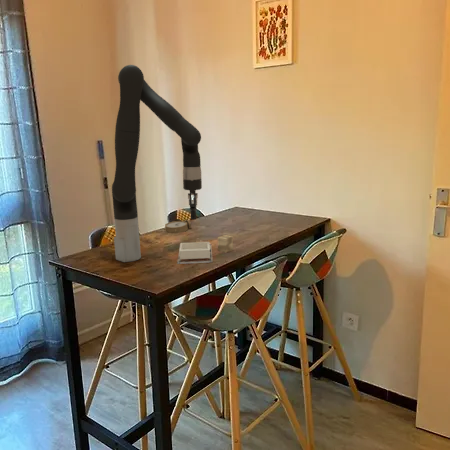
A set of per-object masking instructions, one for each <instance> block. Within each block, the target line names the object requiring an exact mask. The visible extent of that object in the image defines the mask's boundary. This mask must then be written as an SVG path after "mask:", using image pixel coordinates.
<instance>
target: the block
mask: <svg viewBox="0 0 450 450" xmlns="http://www.w3.org/2000/svg"><path fill="white" fill-rule="evenodd" d="M233 238H234V237H233V235H231V236H230V235H226V234H224V235H221V236H217V252H221V253H225V254H226V253H230V252H232V251H234V241H233V240H234V239H233Z"/></svg>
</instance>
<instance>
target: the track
mask: <svg viewBox="0 0 450 450" xmlns="http://www.w3.org/2000/svg"><path fill="white" fill-rule="evenodd" d="M209 245H210V249H211V252H210V255H211V256H212V258H197V259H178V258H177V261H176V264H177V265H181V264H184V265H185V264H186V265H187V264H202V263H203V264H205V263H213V261H214V260H213V249H212V243H209ZM178 250H180V248H179V249H178ZM178 256H179V254H178ZM178 256H177V257H178Z"/></svg>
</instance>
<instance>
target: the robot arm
mask: <svg viewBox="0 0 450 450" xmlns="http://www.w3.org/2000/svg"><path fill="white" fill-rule="evenodd" d="M117 79H118V80H117V81H118V83H119V108H118V110H117V115H116V121H115V122H116V123H115V131H114V132H115V134H114V155H115V171H114V177H113V178H114V180H113V183H112V184H111V197H112V204H113V206H112V207H113V209H112V210H113V218H114V228H115V229H114V230H115V231H114V232H115V236H114V237H113V242H114V244H113V245H114V253H115V260H116V261H119V262H122V263H128V262H135V261H138V260H140V259H141V258H142V255H141V253H142V252H141V241H140V230H139V216H138V203H137V194H136V193H137V187H136V165H137V160H138V155H139V154H138V153H139V148H140V147H139V146H140V145H139V144H140V138H141V137H140V134H141V111H140V109H141V108H140V105H141V103H143V104H144V105H145V106H146V107H148V109H149V110H150V111H151V112H152V113H153V114H154V115H156V117H157V118H158V119H159V120H160V121H161V122H162V123H164V125H165V126H166V127H168V128H169V130H171V131H173V132H175V133H176V134H177V136H179V137H180V143H181V148H182V163H183V164H182V183H183V184H182V187H183V188H182V189H183V190H184V191H189V193H187V199H188V206H189V211H190V219H191V221H192V220H197V206H198V196H199V195H198V193H197V192H196V191H199V190H201V189H202V187H203V185H202V181H203V180H202V179H203V178H202V168H201V167H202V166H201V154H200V152H199V144H200V143H201V141H202V133H201V132H200V131H199V129H197V128H196V126H194V124H192V123H191V122H190V121H188V120H187V119H186V118H185V117H184V116H183V115H182V114H181V112H179V111H178V110H177V109H176V108H175V107H174V106H173V105H171V103H169V102H168V101H167V100H166V99H164V98H163V97H162V96H160V95H159V94H158V93H157V92H156V91H155V90H154V89H153V88H152V87H151V86H150V85H149V83H148V82H147V81H146V79H145V76H144V73H143V71H142V69H141V68H140V67H138V66H137V65H135V64H128V65H125V66H124V67H121V69H120V70H119V72H118V75H117Z"/></svg>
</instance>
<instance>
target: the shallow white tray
mask: <svg viewBox="0 0 450 450" xmlns="http://www.w3.org/2000/svg"><path fill="white" fill-rule="evenodd" d="M209 244H210V241H199V242H196V241H192V242H180V243H179V249H180V250H179V249H178V250H179V251H178V255H179V256H177V260H178V259H197V258H212V259H213V255H212V256H211V255H210V252H211V249H210V245H209Z"/></svg>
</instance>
